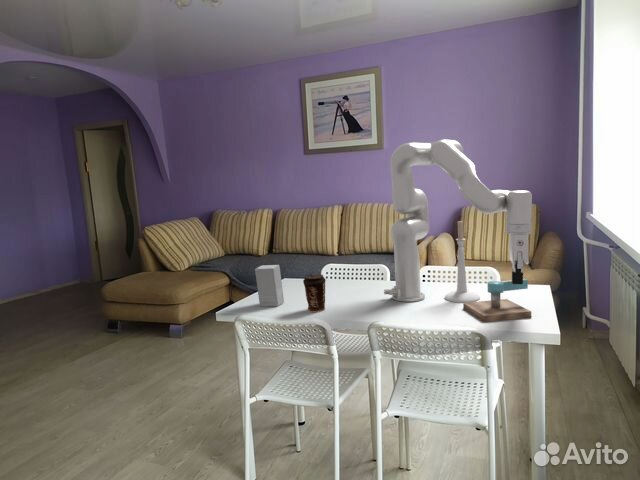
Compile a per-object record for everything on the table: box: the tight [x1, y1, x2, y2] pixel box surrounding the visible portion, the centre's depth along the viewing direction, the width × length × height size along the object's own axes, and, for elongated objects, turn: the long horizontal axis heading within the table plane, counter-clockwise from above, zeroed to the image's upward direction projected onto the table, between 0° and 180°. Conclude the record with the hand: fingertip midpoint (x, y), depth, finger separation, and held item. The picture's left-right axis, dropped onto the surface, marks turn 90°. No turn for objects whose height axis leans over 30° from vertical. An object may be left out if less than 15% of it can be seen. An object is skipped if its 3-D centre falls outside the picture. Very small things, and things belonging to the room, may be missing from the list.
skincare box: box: [254, 264, 285, 307], centre depth 184 cm, size 8×7×16 cm
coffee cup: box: [302, 273, 327, 313], centre depth 172 cm, size 9×8×13 cm
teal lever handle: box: [487, 278, 529, 294], centre depth 156 cm, size 14×5×3 cm, turn 100°
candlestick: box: [444, 220, 481, 304], centre depth 175 cm, size 13×13×30 cm
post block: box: [462, 293, 532, 323], centre depth 156 cm, size 16×16×7 cm
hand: (517, 283), depth 153 cm, fingers closed
